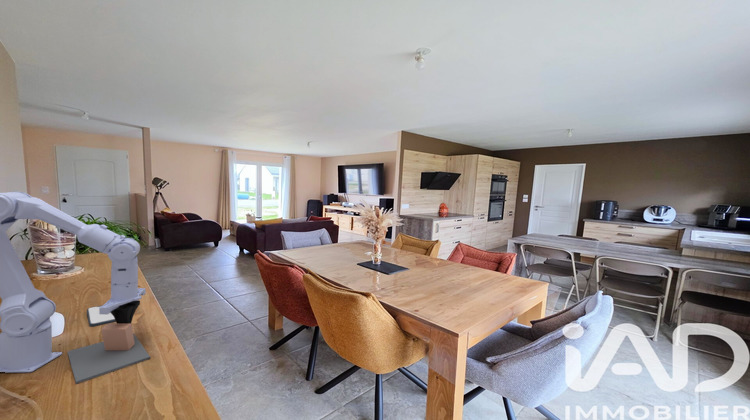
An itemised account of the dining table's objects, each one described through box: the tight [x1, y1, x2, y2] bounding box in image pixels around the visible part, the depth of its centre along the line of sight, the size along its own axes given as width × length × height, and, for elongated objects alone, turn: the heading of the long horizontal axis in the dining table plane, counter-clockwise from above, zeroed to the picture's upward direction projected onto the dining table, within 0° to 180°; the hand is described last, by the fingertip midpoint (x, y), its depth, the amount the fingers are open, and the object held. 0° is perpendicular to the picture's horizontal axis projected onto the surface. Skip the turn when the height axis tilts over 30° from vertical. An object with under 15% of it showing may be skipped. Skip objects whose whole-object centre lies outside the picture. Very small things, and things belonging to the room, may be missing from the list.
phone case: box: [86, 304, 116, 328], centre depth 99 cm, size 9×2×16 cm
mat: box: [67, 332, 151, 385], centre depth 77 cm, size 18×14×1 cm
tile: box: [100, 322, 135, 350], centre depth 79 cm, size 6×3×7 cm, turn 97°
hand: (124, 328), depth 81 cm, fingers closed
